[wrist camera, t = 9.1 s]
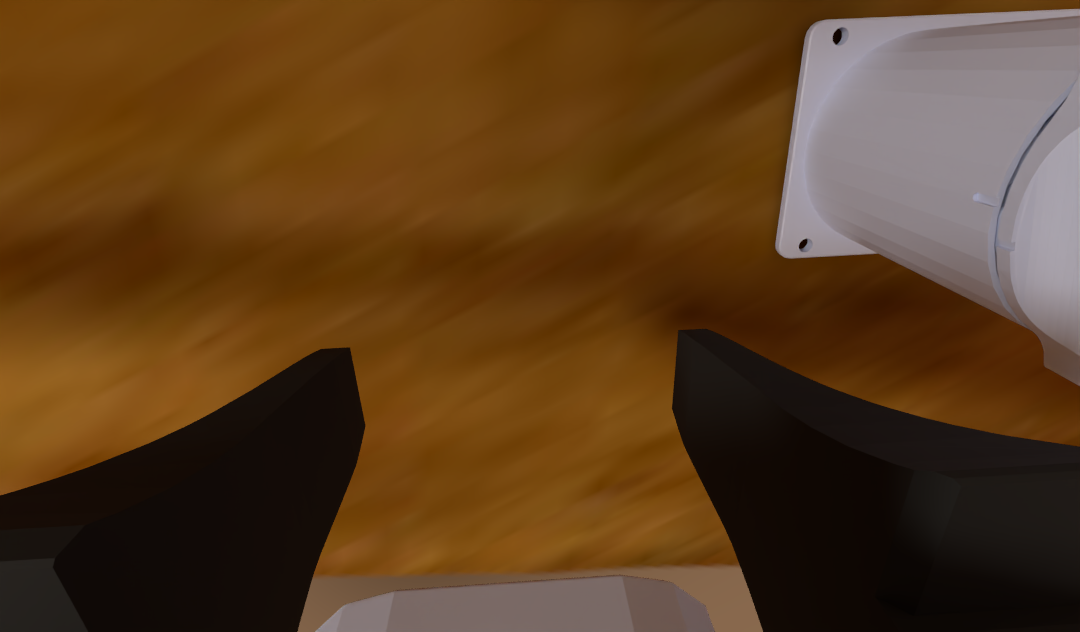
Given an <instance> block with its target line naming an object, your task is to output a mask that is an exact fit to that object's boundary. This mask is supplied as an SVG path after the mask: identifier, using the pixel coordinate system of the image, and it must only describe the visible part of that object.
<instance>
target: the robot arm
mask: <svg viewBox="0 0 1080 632" xmlns="http://www.w3.org/2000/svg"><path fill="white" fill-rule="evenodd" d="M837 29H840V30H841V32H842V38H841V41H840V42H839V43H838V44H837V45H835V44H834V42H833V34H834V32H835V31H836V30H837ZM804 239H807V241H808V242H807V245H806V246H805V247H804V248H802V249H799V244H800V242H801V241H802V240H804ZM775 245H776V250H777V252H778V253H779V254H780V255H782V256H783V257H785V258H808V257H826V256H844V255H862V254H880V255H882V256H884V257H886V258H888V259H890V260H892V261H894V262H896V263H898V264H900V265H902V266H904V267H906V268H908V269H910V270H912V271H914V272H916V273H918V274H920V275H922V276H924V277H926V278H928V279H930V280H932V281H934V282H936V283H938V284H940V285H942V286H944V287H946V288H948V289H950V290H952V291H954V292H956V293H958V294H960V295H962V296H964V297H966V298H968V299H970V300H972V301H974V302H975V303H977V304H979V305H981V306H983V307H985V308H987V309H989V310H991V311H993V312H995V313H997V314H999V315H1001V316H1003V317H1005V318H1007V319H1009V320H1011V321H1013V322H1015V323H1017V324H1019V325H1021V326H1023V327H1025V328H1027V329H1029V330H1031V331H1033V332H1034V333H1035V334H1036V335H1037V336H1038V338H1039V339H1040V341H1041V343H1042V347H1043V350H1044V366H1045V367H1046V368H1048V369H1050V370H1052V371H1053V372H1055V373H1057V374H1059V375H1060V376H1062V377H1064V378H1066V379H1068V380H1069V381H1071V382H1073V383H1075V384H1077V385H1078V386H1080V9H1067V10H1043V11H1019V12H996V13H972V14H948V15H925V16H901V17H877V18H853V19H830V20H822V21H818V22H816V23H814V24H813V25H812V26H811V27H810V28H809V29H808V31H807V33H806V36H805V41H804V48H803V55H802V62H801V69H800V76H799V83H798V90H797V97H796V104H795V111H794V118H793V125H792V132H791V139H790V146H789V153H788V160H787V167H786V174H785V181H784V188H783V195H782V202H781V209H780V216H779V223H778V230H777V237H776V244H775ZM672 410H673V413H674V416H675V419H676V423H677V426H678V429H679V432H680V435H681V438H682V441H683V444H684V446H685V449H686V451H687V453H688V455H689V457H690V459H691V461H692V463H693V465H694V467H695V469H696V471H697V473H698V475H699V477H700V479H701V481H702V483H703V485H704V487H705V489H706V491H707V493H708V495H709V497H710V499H711V501H712V503H713V505H714V507H715V509H716V511H717V513H718V515H719V517H720V519H721V521H722V523H723V525H724V527H725V530H726V532H727V534H728V536H729V539H730V541H731V543H732V545H733V548H734V550H735V553H736V556H737V559H738V561H739V564H740V567H741V569H742V572H743V575H744V578H745V580H746V583H747V586H748V588H749V591H750V594H751V597H752V600H753V603H754V606H755V609H756V612H757V614H758V618H759V620H760V623H761V626H762V629H763V632H1080V447H1077V446H1071V445H1064V444H1058V443H1051V442H1044V441H1038V440H1031V439H1024V438H1018V437H1011V436H1005V435H1000V434H994V433H989V432H985V431H980V430H975V429H970V428H965V427H960V426H956V425H951V424H947V423H943V422H939V421H935V420H930V419H926V418H923V417H919V416H915V415H912V414H908V413H905V412H901V411H898V410H894V409H890V408H887V407H884V406H881V405H878V404H874V403H871V402H868V401H865V400H862V399H860V398H857V397H854V396H851V395H849V394H846V393H843V392H840V391H838V390H835V389H832V388H830V387H827V386H825V385H822V384H820V383H818V382H815V381H813V380H811V379H809V378H806V377H804V376H802V375H800V374H797V373H795V372H793V371H791V370H789V369H787V368H785V367H783V366H780V365H778V364H776V363H774V362H772V361H770V360H768V359H766V358H764V357H763V356H761V355H759V354H757V353H755V352H753V351H751V350H749V349H747V348H745V347H743V346H741V345H739V344H738V343H736V342H734V341H732V340H730V339H728V338H726V337H724V336H722V335H720V334H718V333H715V332H713V331H710V330H708V329H694V330H678V342H677V355H676V367H675V379H674V392H673V404H672ZM364 430H365V422H364V417H363V412H362V407H361V402H360V397H359V392H358V386H357V381H356V376H355V371H354V366H353V361H352V356H351V351H350V348H332V349H320V350H318V351H316V352H314V353H312V354H310V355H308V356H306V357H305V358H303V359H301V360H300V361H298V362H296V363H295V364H293V365H291V366H290V367H288V368H287V369H285V370H283V371H282V372H280V373H279V374H277V375H275V376H274V377H272V378H271V379H269V380H267V381H266V382H264V383H262V384H261V385H259V386H258V387H256V388H254V389H253V390H251V391H249V392H248V393H246V394H244V395H242V396H241V397H239V398H237V399H235V400H234V401H232V402H230V403H228V404H227V405H225V406H223V407H221V408H220V409H218V410H216V411H214V412H213V413H211V414H209V415H207V416H205V417H203V418H201V419H199V420H197V421H196V422H194V423H192V424H190V425H188V426H186V427H183V428H181V429H179V430H177V431H175V432H173V433H171V434H168V435H166V436H164V437H162V438H160V439H158V440H155V441H153V442H151V443H149V444H146V445H144V446H141V447H139V448H136V449H134V450H131V451H129V452H126V453H124V454H121V455H118V456H116V457H113V458H111V459H108V460H106V461H103V462H101V463H98V464H96V465H93V466H90V467H88V468H85V469H82V470H79V471H76V472H73V473H70V474H67V475H64V476H62V477H59V478H56V479H53V480H50V481H46V482H43V483H40V484H37V485H34V486H30V487H27V488H24V489H21V490H18V491H14V492H11V493H7V494H4V495H1V496H0V632H297V631H298V627H299V623H300V619H301V616H302V613H303V609H304V605H305V602H306V598H307V595H308V591H309V588H310V584H311V581H312V577H313V574H314V571H315V568H316V565H317V563H318V560H319V557H320V554H321V552H322V549H323V547H324V544H325V542H326V539H327V537H328V534H329V532H330V529H331V527H332V524H333V522H334V520H335V517H336V515H337V512H338V510H339V507H340V505H341V502H342V500H343V497H344V495H345V492H346V490H347V487H348V485H349V482H350V480H351V477H352V475H353V472H354V469H355V467H356V464H357V460H358V456H359V452H360V448H361V443H362V439H363V434H364ZM315 632H715V631H714V628H713V625H712V623H711V620H710V617H709V614H708V612H707V609H706V606H705V605H704V604H702V603H701V602H699V601H698V600H697V599H695V598H694V597H692V596H691V595H689V594H688V593H687V592H685V591H684V590H682V589H681V588H679V587H678V586H676V585H675V584H674V583H672V582H668V581H664V580H656V579H649V578H641V577H633V576H625V575H609V576H595V577H582V578H581V577H580V578H566V579H551V580H537V581H524V582H523V581H522V582H508V583H493V584H478V585H464V586H449V587H434V588H419V589H405V590H396V591H392V592H388V593H385V594H381V595H377V596H373V597H369V598H366V599H362V600H358V601H354V602H351V603H349V604H346V605H344V606H343V607H341V608H340V609H339V610H338V611H337V612H336V613H335V614H334V615H333V616H332V617H331V618H329V619H328V620H327V621H326V622H325V623H324V624H323V625H322V626H321V627H320V628H319V629H317V631H315Z"/></svg>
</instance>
